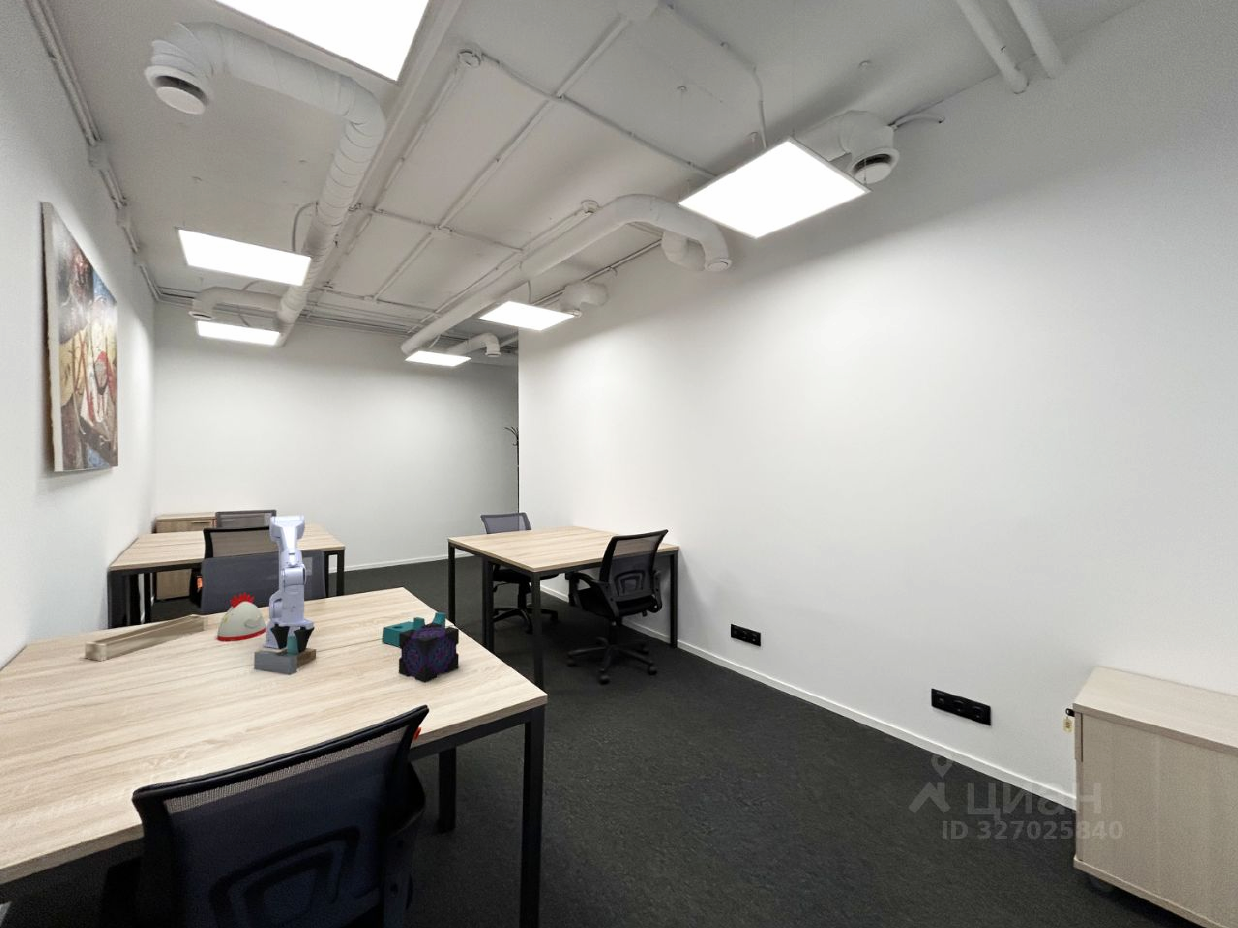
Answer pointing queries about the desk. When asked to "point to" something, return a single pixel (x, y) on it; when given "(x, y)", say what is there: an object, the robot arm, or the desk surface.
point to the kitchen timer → (241, 621)
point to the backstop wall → (275, 662)
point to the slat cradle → (144, 637)
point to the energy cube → (428, 651)
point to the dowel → (292, 645)
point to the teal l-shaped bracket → (408, 628)
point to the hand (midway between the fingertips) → (292, 649)
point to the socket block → (304, 656)
